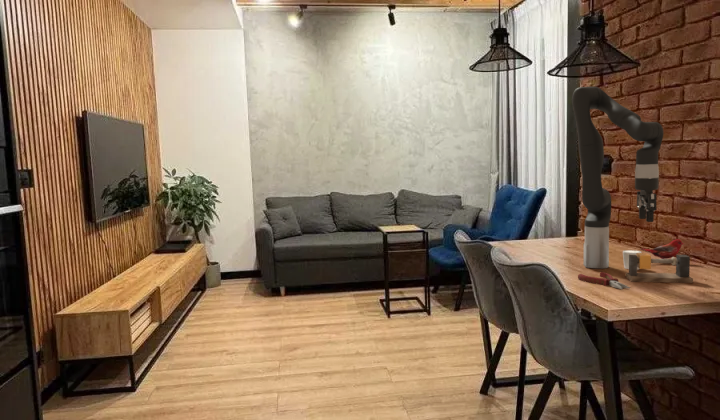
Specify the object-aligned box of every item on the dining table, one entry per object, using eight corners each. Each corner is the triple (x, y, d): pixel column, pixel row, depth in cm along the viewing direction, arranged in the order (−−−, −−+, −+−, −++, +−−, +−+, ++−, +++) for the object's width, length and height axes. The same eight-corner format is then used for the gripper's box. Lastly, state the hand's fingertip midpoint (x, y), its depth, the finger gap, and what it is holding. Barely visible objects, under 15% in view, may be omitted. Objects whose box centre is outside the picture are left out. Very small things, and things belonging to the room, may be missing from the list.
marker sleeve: (640, 268, 180) (640, 255, 180) (636, 265, 185) (636, 252, 184) (650, 268, 179) (650, 255, 179) (646, 266, 184) (646, 253, 184)
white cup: (625, 265, 205) (625, 249, 205) (643, 267, 200) (643, 250, 200) (620, 268, 201) (620, 251, 200) (638, 270, 196) (638, 253, 195)
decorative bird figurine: (685, 262, 206) (686, 239, 205) (641, 263, 208) (641, 240, 207) (681, 261, 209) (682, 238, 208) (638, 262, 211) (638, 239, 210)
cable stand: (631, 281, 180) (631, 257, 179) (625, 276, 188) (625, 253, 187) (693, 282, 175) (693, 258, 174) (684, 277, 182) (685, 253, 182)
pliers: (611, 293, 168) (611, 285, 168) (576, 279, 188) (576, 273, 187) (641, 290, 170) (641, 283, 169) (603, 277, 189) (603, 271, 189)
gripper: (629, 176, 187) (629, 218, 188) (641, 177, 173) (640, 222, 175) (651, 175, 185) (650, 217, 187) (665, 177, 171) (664, 222, 173)
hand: (646, 220), depth 181 cm, fingers open, 8 cm apart
